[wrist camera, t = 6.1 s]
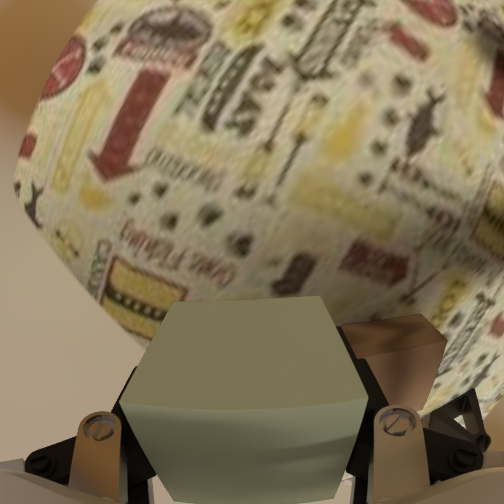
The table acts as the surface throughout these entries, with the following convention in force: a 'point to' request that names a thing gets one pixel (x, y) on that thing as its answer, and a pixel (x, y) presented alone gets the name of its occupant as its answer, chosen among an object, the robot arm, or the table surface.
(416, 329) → the walnut block
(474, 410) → the phone stand
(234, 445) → the sage block
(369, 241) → the table surface
